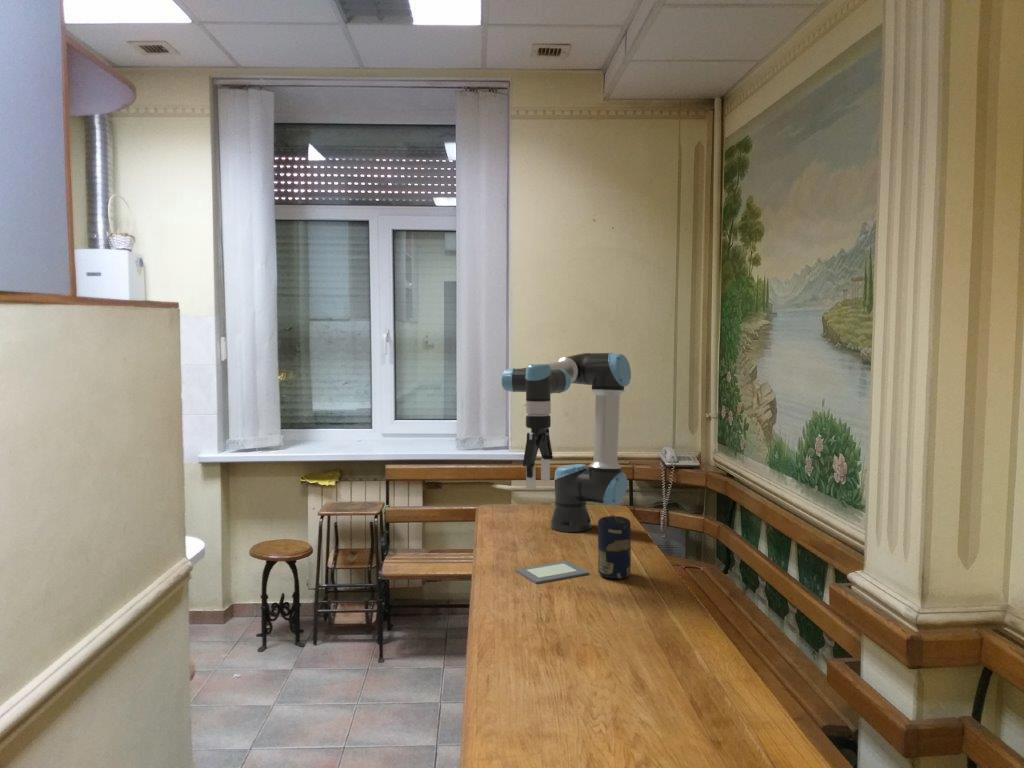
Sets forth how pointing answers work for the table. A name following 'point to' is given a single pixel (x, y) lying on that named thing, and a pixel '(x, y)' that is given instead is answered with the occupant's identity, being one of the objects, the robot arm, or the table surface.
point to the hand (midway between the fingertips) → (538, 484)
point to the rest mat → (551, 571)
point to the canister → (614, 547)
